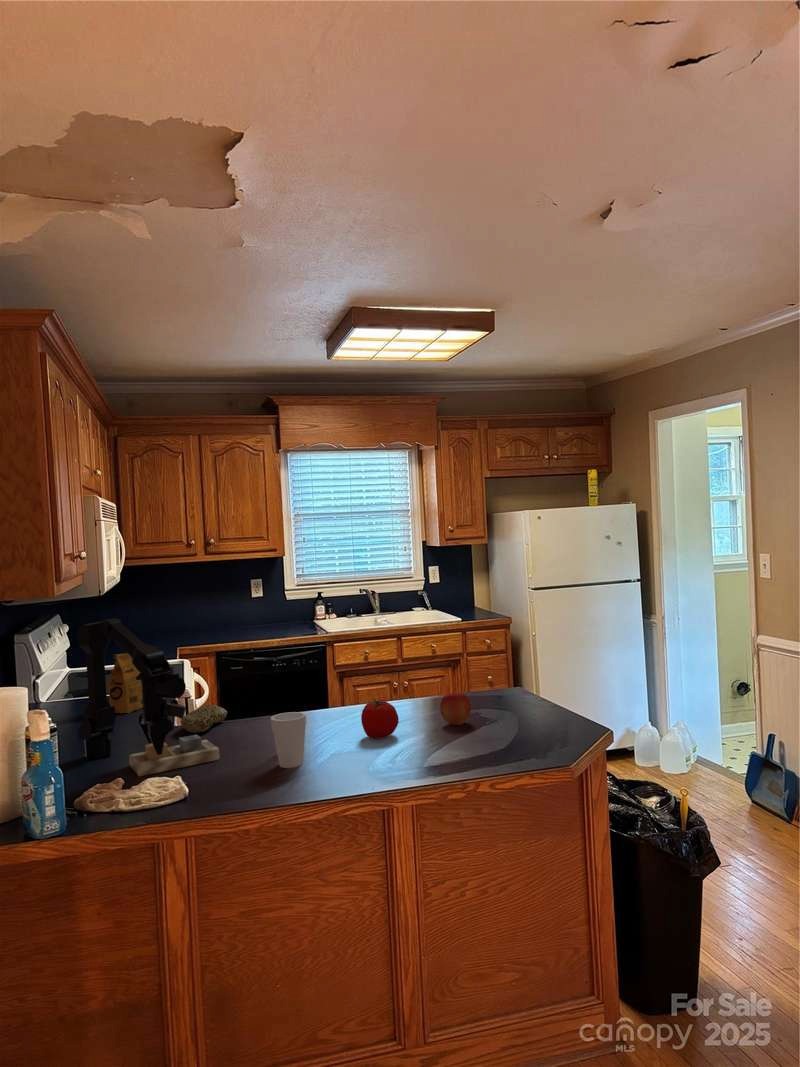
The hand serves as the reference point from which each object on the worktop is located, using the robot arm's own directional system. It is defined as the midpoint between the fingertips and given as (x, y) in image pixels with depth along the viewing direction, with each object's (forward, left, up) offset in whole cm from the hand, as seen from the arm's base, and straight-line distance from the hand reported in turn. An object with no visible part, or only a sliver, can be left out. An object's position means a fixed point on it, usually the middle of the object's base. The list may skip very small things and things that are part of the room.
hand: (156, 751), depth 212 cm
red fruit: (+61, -19, -4) cm, 64 cm away
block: (0, 0, -4) cm, 4 cm away
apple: (+86, -23, -4) cm, 89 cm away
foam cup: (+30, -25, -4) cm, 39 cm away
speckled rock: (+22, +33, -4) cm, 40 cm away
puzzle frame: (+5, 0, -4) cm, 6 cm away
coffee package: (+8, +82, -4) cm, 82 cm away
